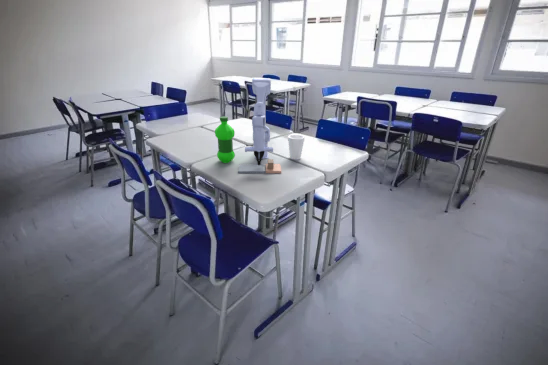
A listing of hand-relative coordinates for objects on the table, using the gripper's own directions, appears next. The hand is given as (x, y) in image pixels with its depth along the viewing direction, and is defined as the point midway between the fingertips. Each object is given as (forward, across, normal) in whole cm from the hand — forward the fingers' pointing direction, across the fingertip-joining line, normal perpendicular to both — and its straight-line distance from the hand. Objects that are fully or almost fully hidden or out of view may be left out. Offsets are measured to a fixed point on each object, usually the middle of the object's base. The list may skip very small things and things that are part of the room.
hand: (259, 164), depth 149 cm
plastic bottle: (+3, -19, +12) cm, 22 cm away
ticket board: (+3, -4, 0) cm, 5 cm away
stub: (+3, +8, 0) cm, 8 cm away
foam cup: (+3, +21, +18) cm, 28 cm away
